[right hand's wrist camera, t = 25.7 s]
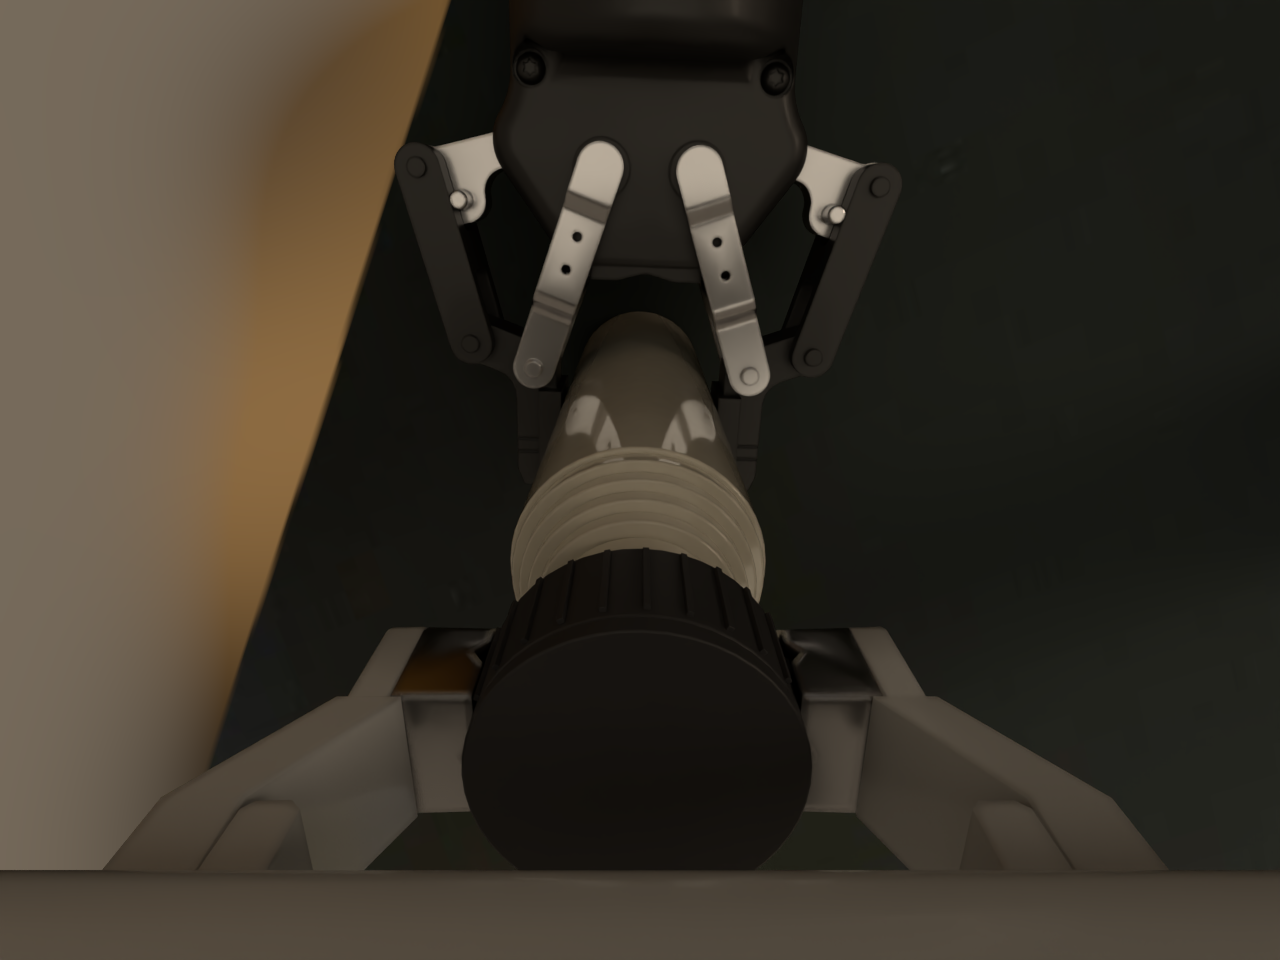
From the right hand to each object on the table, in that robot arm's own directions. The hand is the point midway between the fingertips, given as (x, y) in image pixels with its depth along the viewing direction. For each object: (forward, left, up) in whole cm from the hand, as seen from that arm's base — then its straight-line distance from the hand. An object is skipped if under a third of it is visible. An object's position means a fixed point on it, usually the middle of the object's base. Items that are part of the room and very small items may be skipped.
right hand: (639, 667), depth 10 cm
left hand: (-2, -1, -13) cm, 13 cm away
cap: (0, 0, +2) cm, 2 cm away
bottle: (0, 0, -20) cm, 20 cm away
